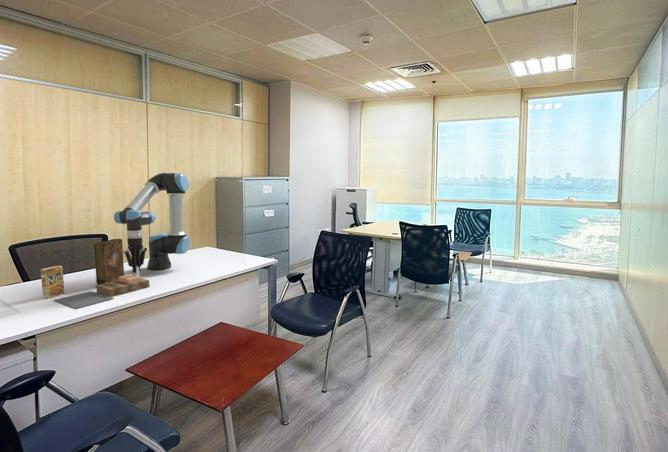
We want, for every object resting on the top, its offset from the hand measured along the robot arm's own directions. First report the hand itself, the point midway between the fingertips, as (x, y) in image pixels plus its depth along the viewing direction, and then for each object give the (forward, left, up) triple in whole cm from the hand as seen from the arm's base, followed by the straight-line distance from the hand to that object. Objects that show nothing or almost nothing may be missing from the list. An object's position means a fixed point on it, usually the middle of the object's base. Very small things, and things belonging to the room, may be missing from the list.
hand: (136, 277), depth 224 cm
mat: (+29, 0, -5) cm, 29 cm away
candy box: (+34, -20, -5) cm, 40 cm away
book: (+4, -19, -5) cm, 20 cm away
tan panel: (+8, 0, -5) cm, 9 cm away
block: (+4, 0, -1) cm, 4 cm away
